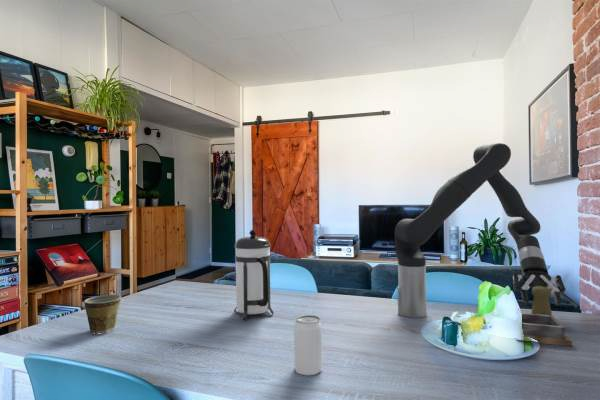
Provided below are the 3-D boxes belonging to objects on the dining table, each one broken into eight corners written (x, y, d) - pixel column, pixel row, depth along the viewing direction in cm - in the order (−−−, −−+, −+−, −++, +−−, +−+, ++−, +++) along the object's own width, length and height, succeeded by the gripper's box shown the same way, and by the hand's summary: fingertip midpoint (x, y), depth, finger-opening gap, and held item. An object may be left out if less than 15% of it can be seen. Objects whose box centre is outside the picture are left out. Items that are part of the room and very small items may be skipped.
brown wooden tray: (516, 340, 99) (515, 324, 99) (506, 325, 111) (506, 310, 111) (571, 346, 95) (571, 329, 95) (555, 329, 107) (555, 314, 107)
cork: (556, 324, 112) (556, 289, 112) (535, 323, 113) (534, 288, 113) (547, 318, 118) (546, 285, 118) (527, 317, 119) (526, 284, 119)
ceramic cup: (127, 327, 113) (127, 296, 113) (98, 338, 104) (98, 304, 104) (100, 322, 119) (100, 292, 119) (70, 332, 110) (70, 300, 110)
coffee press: (221, 319, 121) (221, 231, 121) (246, 306, 135) (245, 228, 136) (267, 325, 114) (266, 232, 114) (287, 310, 129) (286, 228, 129)
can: (293, 364, 86) (293, 315, 86) (320, 363, 87) (319, 314, 87) (295, 377, 80) (295, 324, 80) (324, 375, 80) (323, 322, 80)
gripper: (510, 254, 125) (518, 295, 114) (558, 256, 120) (571, 298, 109) (507, 267, 130) (515, 307, 119) (553, 269, 125) (566, 311, 114)
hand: (542, 303), depth 114 cm, fingers open, 8 cm apart
